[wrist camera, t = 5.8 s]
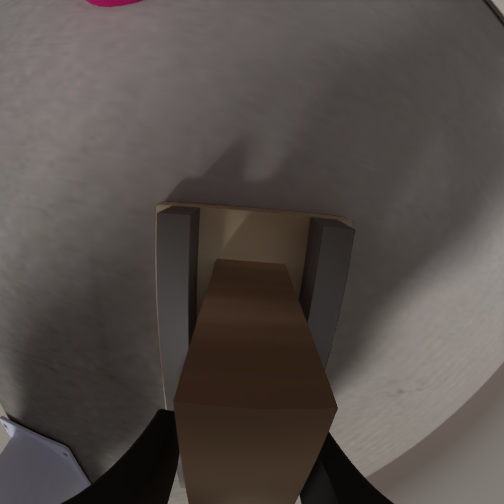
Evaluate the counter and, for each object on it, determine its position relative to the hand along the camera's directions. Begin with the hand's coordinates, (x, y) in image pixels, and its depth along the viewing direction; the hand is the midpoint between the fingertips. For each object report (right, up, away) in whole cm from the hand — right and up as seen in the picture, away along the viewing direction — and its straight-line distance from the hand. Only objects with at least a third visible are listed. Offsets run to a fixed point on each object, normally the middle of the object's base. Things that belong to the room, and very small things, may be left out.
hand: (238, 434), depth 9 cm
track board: (0, +1, +4) cm, 4 cm away
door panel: (0, +1, +3) cm, 3 cm away
